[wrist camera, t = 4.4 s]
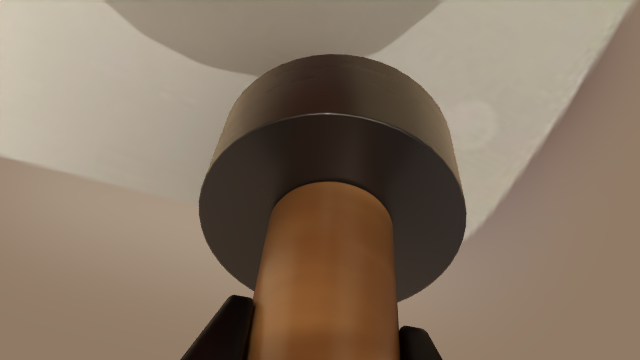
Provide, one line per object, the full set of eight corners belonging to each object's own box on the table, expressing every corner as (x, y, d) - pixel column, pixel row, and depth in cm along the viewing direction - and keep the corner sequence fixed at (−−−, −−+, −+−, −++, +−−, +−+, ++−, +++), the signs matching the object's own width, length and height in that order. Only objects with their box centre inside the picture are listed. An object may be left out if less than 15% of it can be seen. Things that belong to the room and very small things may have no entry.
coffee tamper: (487, 83, 12) (685, 620, 5) (412, 257, 16) (455, 729, 8) (234, 28, 12) (5, 519, 4) (213, 220, 15) (66, 678, 8)
